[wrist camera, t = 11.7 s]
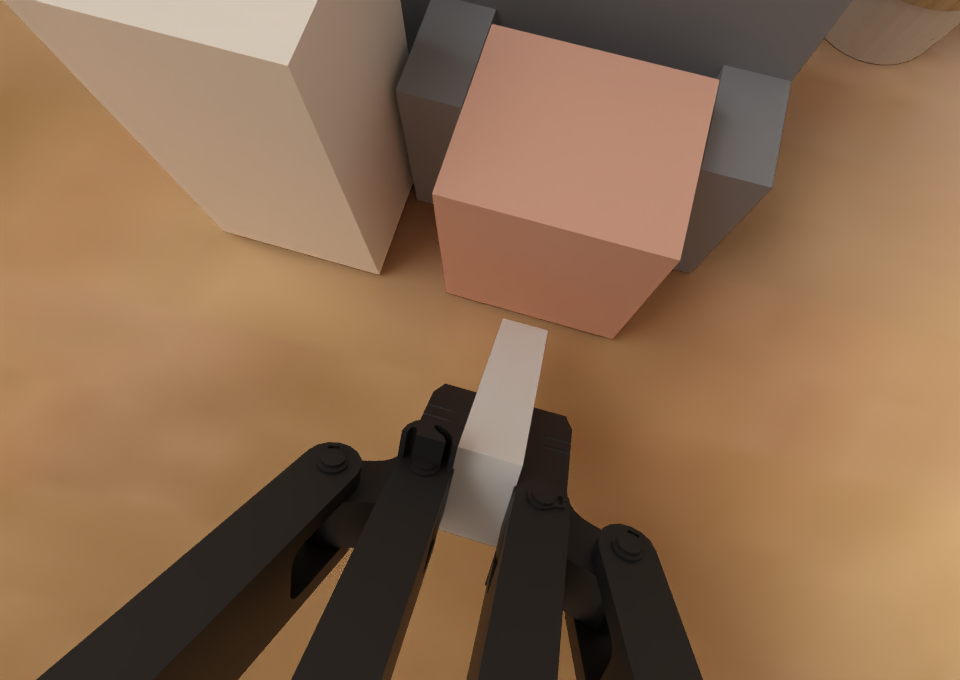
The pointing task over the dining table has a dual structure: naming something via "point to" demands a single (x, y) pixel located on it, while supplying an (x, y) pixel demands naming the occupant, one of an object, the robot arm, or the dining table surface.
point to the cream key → (255, 108)
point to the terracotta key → (569, 180)
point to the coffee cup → (892, 28)
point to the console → (643, 36)
